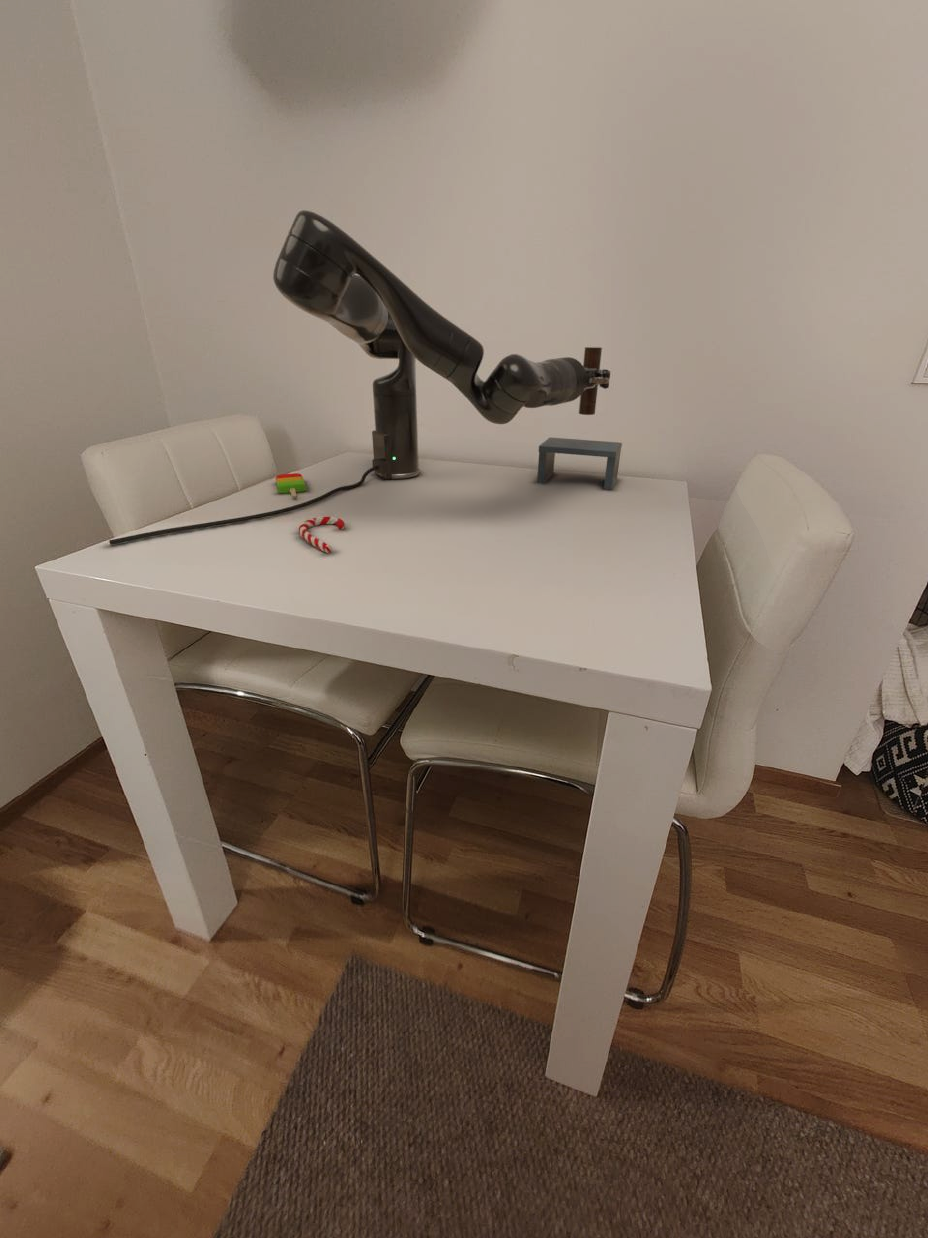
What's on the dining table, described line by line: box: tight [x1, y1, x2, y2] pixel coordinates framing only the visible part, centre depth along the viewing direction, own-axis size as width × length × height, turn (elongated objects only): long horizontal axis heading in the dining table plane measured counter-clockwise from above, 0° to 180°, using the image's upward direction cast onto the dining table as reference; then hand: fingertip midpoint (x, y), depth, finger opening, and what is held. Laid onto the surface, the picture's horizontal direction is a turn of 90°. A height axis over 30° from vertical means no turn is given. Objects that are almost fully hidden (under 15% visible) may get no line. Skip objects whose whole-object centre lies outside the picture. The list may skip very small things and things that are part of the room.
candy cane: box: [298, 516, 346, 554], centre depth 93 cm, size 8×1×15 cm
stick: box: [578, 346, 603, 416], centre depth 111 cm, size 3×3×12 cm
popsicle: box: [275, 472, 307, 498], centre depth 117 cm, size 6×15×2 cm, turn 19°
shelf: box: [536, 437, 623, 491], centre depth 124 cm, size 10×16×8 cm, turn 69°
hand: (596, 374), depth 113 cm, fingers closed on stick, 3 cm apart
